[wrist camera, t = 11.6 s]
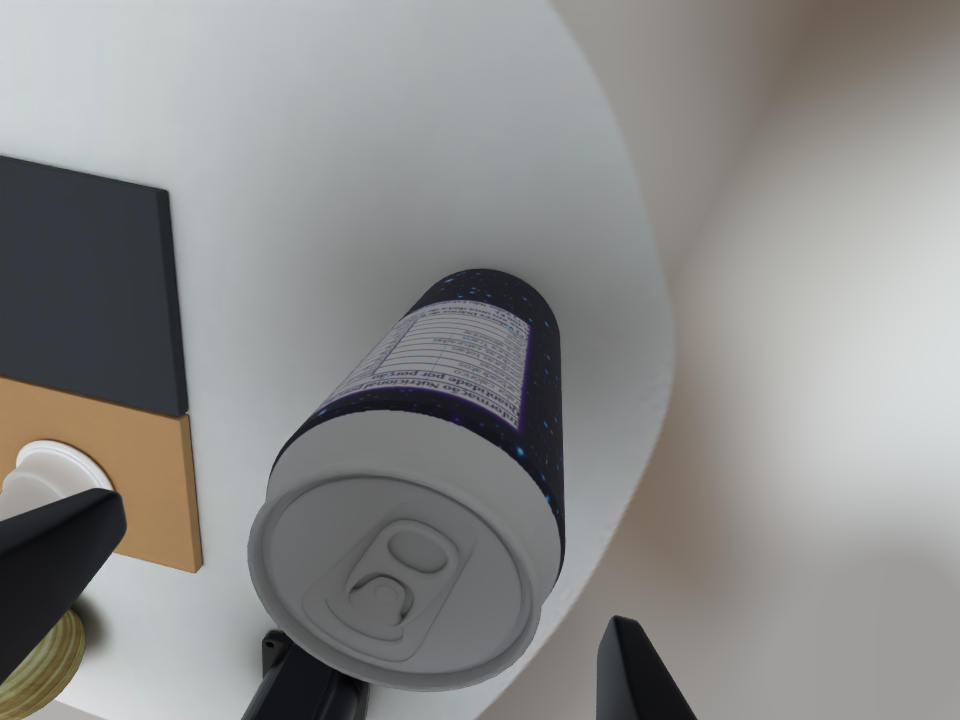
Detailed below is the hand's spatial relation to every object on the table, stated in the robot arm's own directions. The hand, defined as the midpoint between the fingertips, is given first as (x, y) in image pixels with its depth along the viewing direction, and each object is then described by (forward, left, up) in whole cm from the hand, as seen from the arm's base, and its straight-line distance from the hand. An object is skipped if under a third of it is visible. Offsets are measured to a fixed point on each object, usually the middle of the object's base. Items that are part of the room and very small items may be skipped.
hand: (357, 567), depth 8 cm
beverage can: (0, -1, -12) cm, 12 cm away
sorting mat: (-7, +19, -11) cm, 23 cm away
